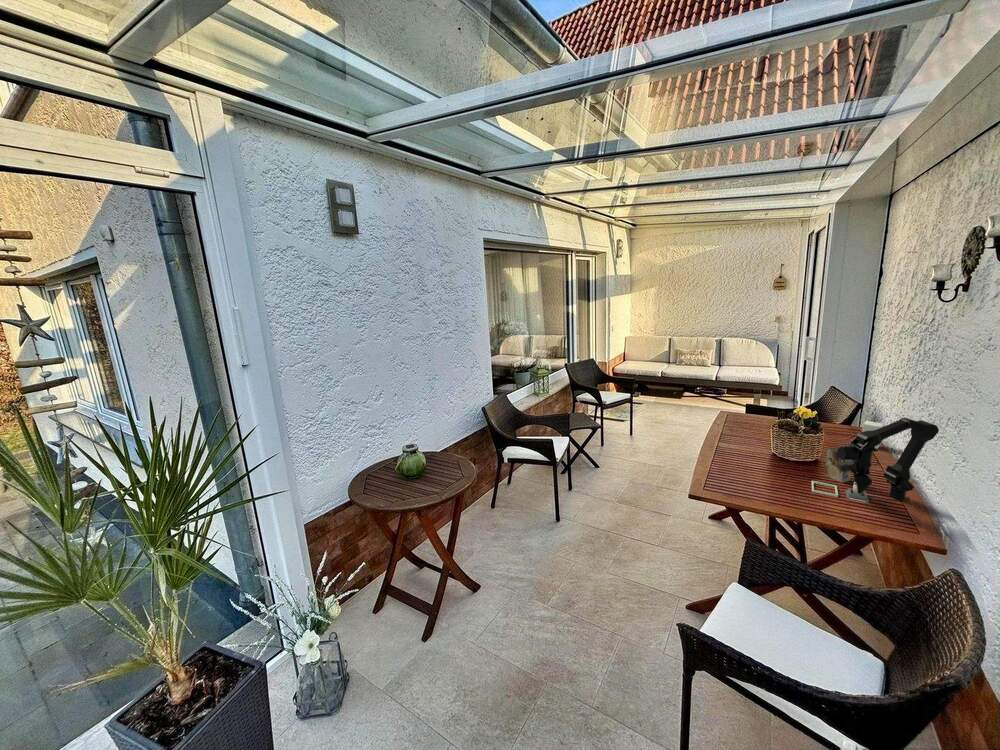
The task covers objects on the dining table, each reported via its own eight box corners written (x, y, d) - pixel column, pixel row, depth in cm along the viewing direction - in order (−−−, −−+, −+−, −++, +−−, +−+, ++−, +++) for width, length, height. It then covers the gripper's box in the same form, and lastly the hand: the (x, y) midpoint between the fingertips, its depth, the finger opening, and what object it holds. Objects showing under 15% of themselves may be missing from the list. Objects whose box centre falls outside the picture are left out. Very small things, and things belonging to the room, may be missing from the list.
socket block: (845, 491, 206) (845, 486, 206) (866, 495, 202) (867, 490, 201) (846, 499, 198) (847, 494, 198) (868, 504, 194) (869, 499, 193)
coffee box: (850, 481, 216) (854, 453, 212) (842, 483, 214) (846, 455, 210) (831, 474, 224) (835, 446, 221) (823, 476, 222) (827, 448, 219)
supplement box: (878, 450, 253) (882, 427, 250) (859, 446, 260) (862, 423, 257) (881, 446, 258) (885, 423, 255) (862, 442, 265) (866, 420, 262)
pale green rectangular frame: (811, 483, 215) (811, 480, 215) (835, 488, 209) (836, 485, 209) (812, 493, 205) (812, 490, 205) (837, 498, 200) (838, 495, 199)
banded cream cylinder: (851, 493, 203) (854, 476, 201) (861, 495, 200) (864, 478, 199) (852, 496, 200) (854, 479, 198) (862, 498, 197) (865, 481, 196)
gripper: (839, 449, 208) (835, 477, 211) (842, 462, 193) (838, 493, 196) (869, 453, 202) (864, 483, 205) (874, 468, 187) (869, 499, 190)
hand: (858, 489), depth 199 cm, fingers open, 9 cm apart
